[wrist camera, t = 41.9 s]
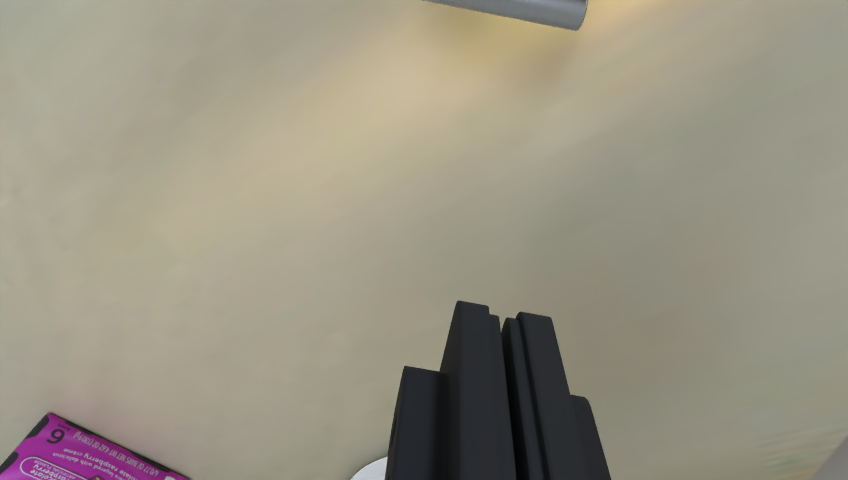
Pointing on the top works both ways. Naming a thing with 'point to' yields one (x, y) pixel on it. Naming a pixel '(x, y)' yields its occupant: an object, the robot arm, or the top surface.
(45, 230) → the top surface
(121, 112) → the top surface
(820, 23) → the top surface
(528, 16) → the drawer
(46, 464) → the candy bar box
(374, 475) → the candle holder
